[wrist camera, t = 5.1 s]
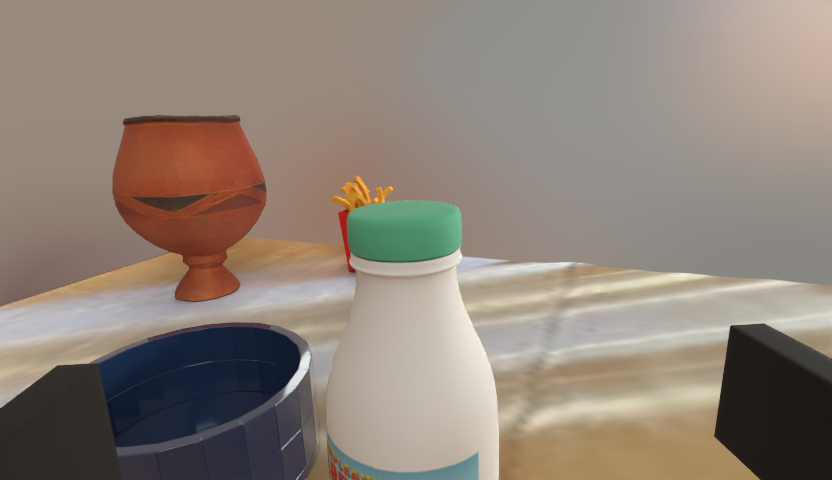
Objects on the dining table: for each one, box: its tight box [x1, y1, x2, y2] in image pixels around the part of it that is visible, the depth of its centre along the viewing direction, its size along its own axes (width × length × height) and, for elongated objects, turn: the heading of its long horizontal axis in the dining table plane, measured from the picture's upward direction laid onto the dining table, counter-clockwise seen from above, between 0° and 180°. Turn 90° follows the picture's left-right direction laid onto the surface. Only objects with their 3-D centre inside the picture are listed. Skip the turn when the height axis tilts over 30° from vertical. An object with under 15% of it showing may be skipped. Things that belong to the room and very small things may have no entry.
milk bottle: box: [326, 200, 499, 480], centre depth 21 cm, size 8×8×20 cm
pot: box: [89, 322, 319, 480], centre depth 33 cm, size 17×17×7 cm
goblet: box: [113, 115, 266, 301], centre depth 66 cm, size 19×19×25 cm
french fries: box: [331, 176, 393, 272], centre depth 75 cm, size 9×8×15 cm
